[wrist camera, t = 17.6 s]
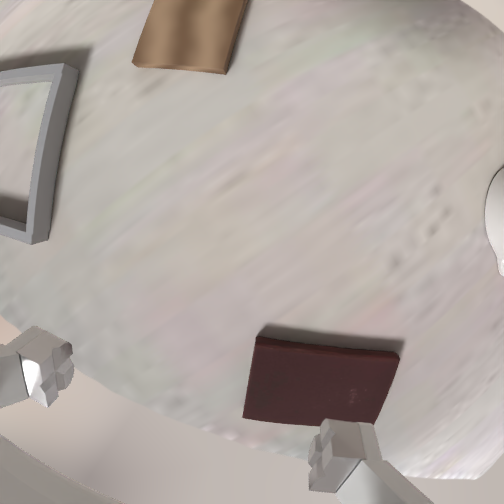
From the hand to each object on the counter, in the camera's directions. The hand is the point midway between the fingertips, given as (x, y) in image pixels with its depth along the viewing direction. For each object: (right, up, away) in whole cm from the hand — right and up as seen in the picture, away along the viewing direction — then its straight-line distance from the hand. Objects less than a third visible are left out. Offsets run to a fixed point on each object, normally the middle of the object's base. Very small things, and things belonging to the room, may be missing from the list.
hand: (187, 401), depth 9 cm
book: (+11, -13, +33) cm, 37 cm away
